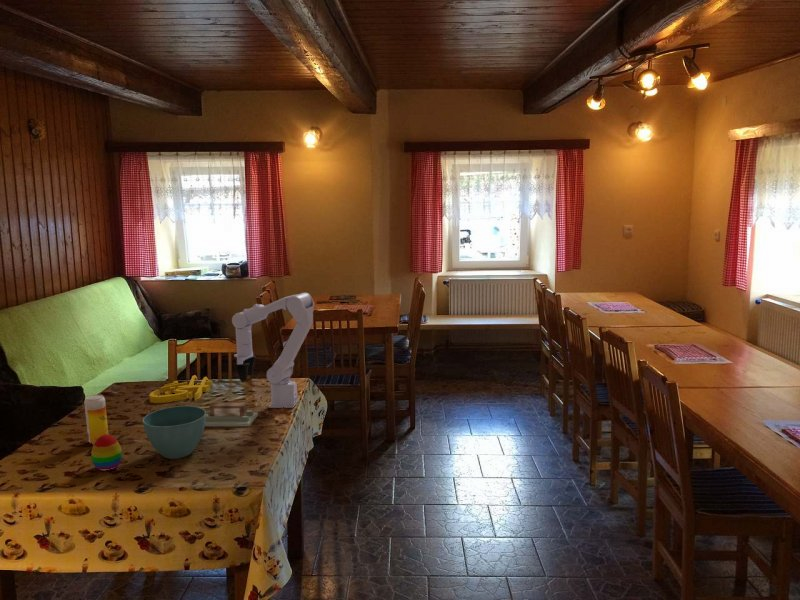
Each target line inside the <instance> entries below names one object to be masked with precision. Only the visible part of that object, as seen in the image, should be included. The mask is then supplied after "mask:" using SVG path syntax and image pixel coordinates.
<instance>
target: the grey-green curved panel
mask: <svg viewBox="0 0 800 600" xmlns="http://www.w3.org/2000/svg"><path fill="white" fill-rule="evenodd" d="M258 416H259V414H258V412H254V410H250V409H249V410H248V409H247V416H210V410H208V411H207V414H206V421H205V427H250V426H251V425H252V424H253V422H254V421H255V420H256V418H257V417H258Z"/></svg>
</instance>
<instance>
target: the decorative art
mask: <svg viewBox="0 0 800 600" xmlns="http://www.w3.org/2000/svg"><path fill="white" fill-rule="evenodd" d="M191 380H192V381H191ZM194 380H198V377H197V375H196V374H194V375H192V376H191V379H190V381H189V383H188V381H185V382H181V383H179V382H178V380H174V381H172V383H165V384H163V386H161V387H160V388H159V389H158V388H157V389H154V391H151V392H150V393H149V402H150V403H151V404H166V403H173V401H174V402H179V401H183V400H186V399H188V400H192V399H193V398H194V401H197V399H198V400H199V399H200V398H201V397H202V395H203V394H204V393H203V392H206V393H208V392H210V391H211V387H210V385H212V384H213V380H209V378H208V377H207V376H204V377H203V378H202V380H206V381H202V380H201V382H198V383H197V384H196V383H195V385H194ZM198 381H199V380H198ZM209 390H210V391H209ZM207 391H208V392H207ZM161 393H162V395H161ZM172 393H175V394H172ZM158 395H159V396H158Z"/></svg>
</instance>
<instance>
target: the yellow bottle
mask: <svg viewBox="0 0 800 600" xmlns="http://www.w3.org/2000/svg"><path fill="white" fill-rule="evenodd" d="M83 403H84V412H85V413H84V414H85V422H86V424H85V425H86V432H87V439H88V440H87V441H88V442H89V443H90V444H91V443H92V444H91V445H94V443H95V442H96V440H97V439H98V438H99V437H100V436H102V435H105V434H107V435H109V424H108V416H107V405H106V398H105V397H104V395H103V394H94V395H93V394H92V395H88V396H86V397H85V399H84V402H83Z"/></svg>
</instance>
